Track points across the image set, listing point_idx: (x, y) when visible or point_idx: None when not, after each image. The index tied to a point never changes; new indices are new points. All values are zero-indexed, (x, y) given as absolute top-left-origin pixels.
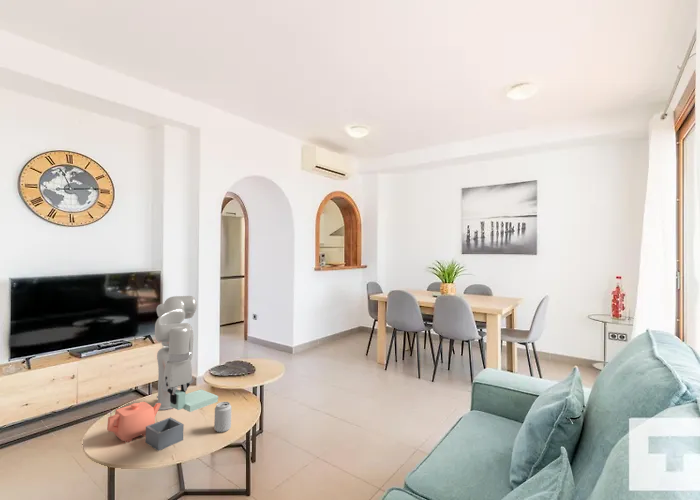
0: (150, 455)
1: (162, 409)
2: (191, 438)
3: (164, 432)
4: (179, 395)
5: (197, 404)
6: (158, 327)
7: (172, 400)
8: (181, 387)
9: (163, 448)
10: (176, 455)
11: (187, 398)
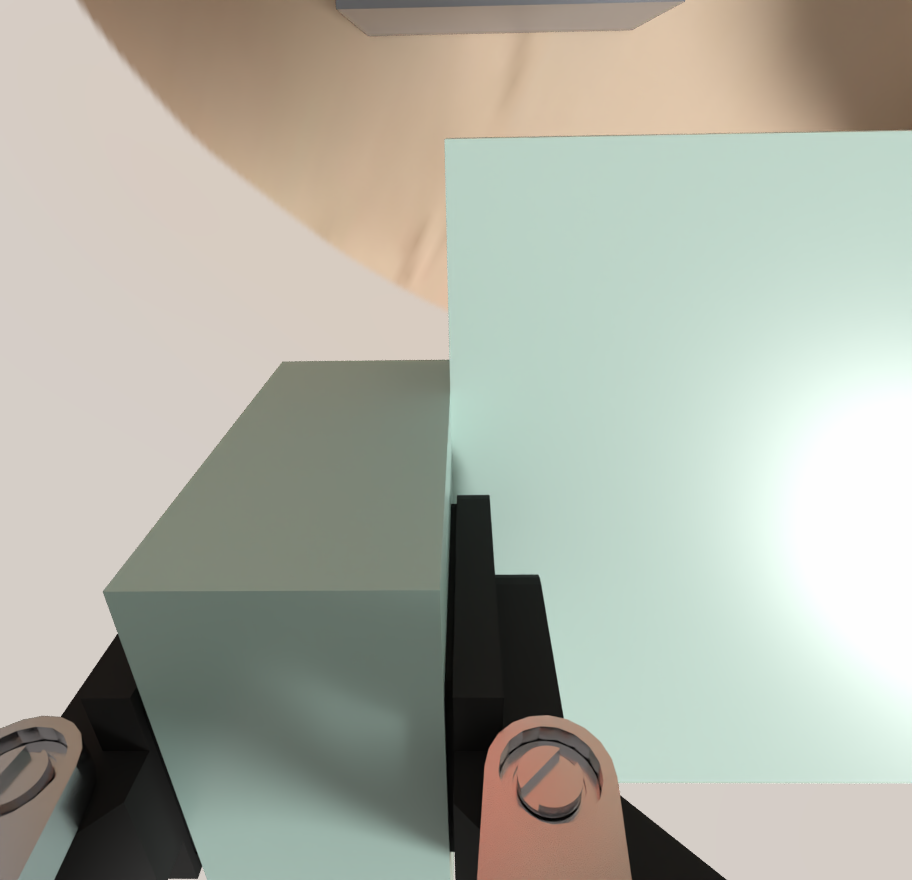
0: (287, 58)
1: None
2: (697, 74)
3: (412, 10)
4: None
5: None
6: None
7: None
8: (495, 867)
9: (420, 34)
10: (441, 257)
11: (667, 480)
